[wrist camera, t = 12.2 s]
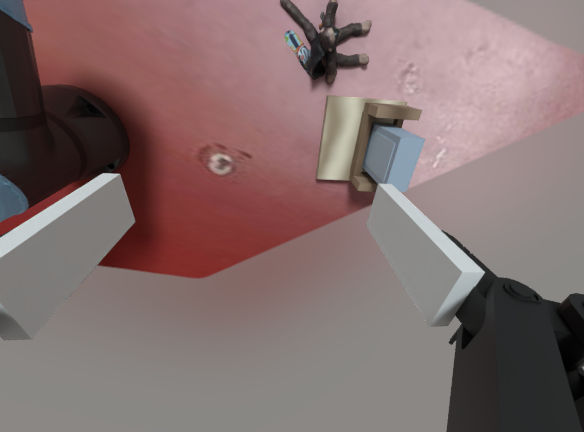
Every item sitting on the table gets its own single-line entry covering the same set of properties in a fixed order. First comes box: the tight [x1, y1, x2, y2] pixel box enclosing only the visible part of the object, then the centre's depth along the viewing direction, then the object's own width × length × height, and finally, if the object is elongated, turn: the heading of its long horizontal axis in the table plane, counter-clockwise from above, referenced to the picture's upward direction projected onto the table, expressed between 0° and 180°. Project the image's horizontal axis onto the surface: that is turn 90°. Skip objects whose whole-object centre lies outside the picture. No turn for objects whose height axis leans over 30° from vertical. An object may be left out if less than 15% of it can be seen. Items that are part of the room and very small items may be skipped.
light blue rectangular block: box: [362, 122, 425, 192], centre depth 39 cm, size 8×4×12 cm, turn 175°
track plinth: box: [316, 95, 422, 192], centre depth 42 cm, size 14×15×8 cm
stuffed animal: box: [280, 0, 371, 83], centre depth 37 cm, size 12×10×12 cm
